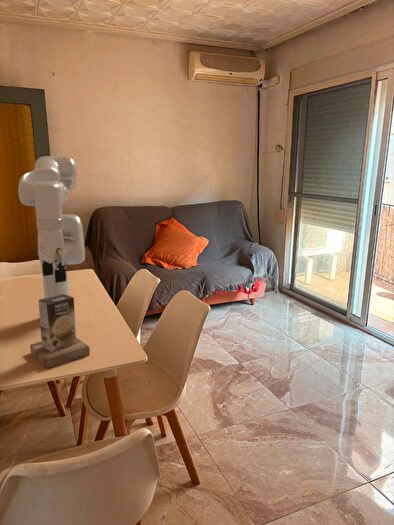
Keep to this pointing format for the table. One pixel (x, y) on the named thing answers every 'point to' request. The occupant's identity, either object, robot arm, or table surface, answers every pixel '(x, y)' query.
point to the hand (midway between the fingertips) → (54, 278)
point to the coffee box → (57, 322)
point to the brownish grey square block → (59, 353)
